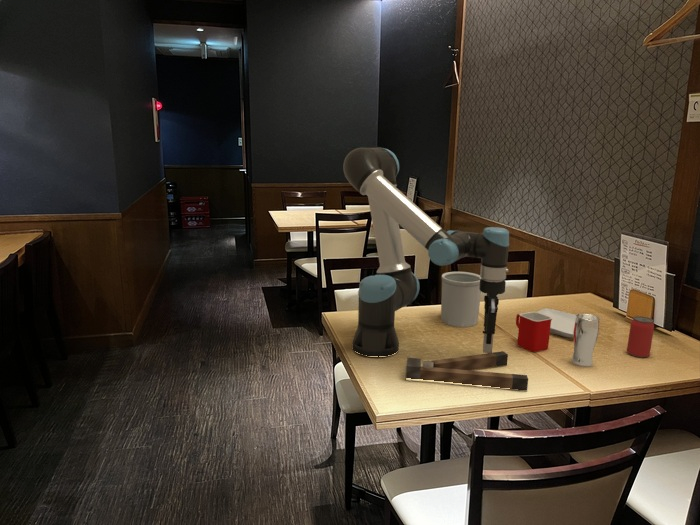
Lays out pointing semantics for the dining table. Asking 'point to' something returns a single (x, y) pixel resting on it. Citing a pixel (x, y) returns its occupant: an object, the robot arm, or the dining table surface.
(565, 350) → the dining table surface
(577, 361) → the beer glass
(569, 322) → the salad plate
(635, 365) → the dining table surface
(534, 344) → the mug
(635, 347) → the beer can
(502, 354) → the bar
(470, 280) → the utensil holder
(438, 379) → the base
